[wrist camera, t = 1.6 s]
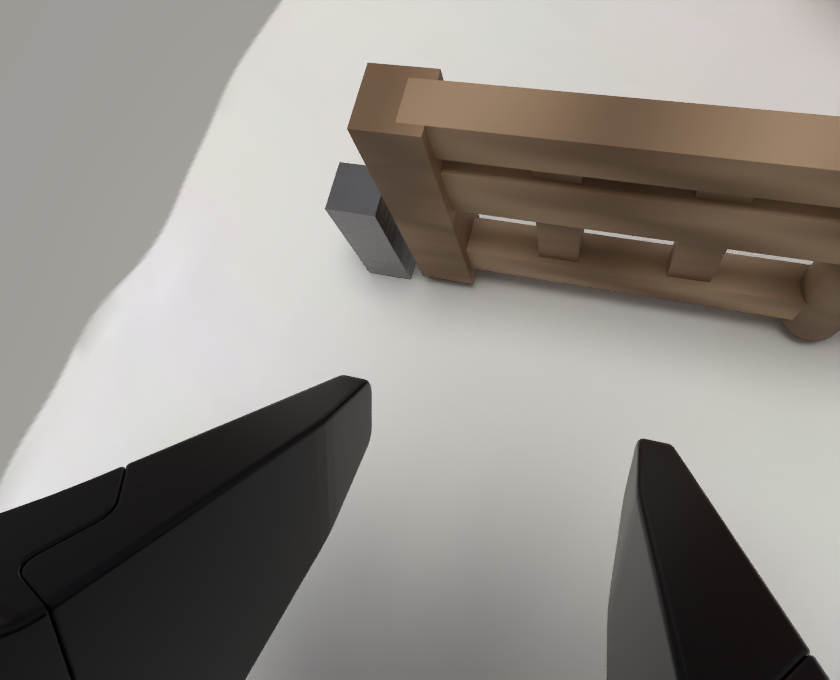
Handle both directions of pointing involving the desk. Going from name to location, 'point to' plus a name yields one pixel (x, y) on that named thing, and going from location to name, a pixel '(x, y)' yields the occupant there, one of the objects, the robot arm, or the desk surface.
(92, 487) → the robot arm
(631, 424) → the desk surface
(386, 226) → the dark grey square post
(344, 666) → the desk surface
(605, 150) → the walnut gate
